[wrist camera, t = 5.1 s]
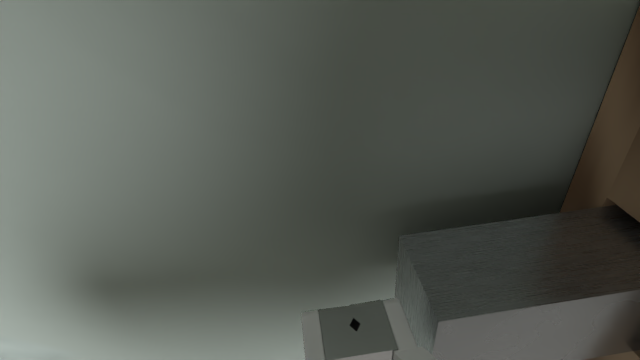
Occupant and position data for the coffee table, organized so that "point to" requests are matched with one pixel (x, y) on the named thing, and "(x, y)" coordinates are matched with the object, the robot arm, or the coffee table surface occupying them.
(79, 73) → the coffee table surface
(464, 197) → the coffee table surface
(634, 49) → the beam
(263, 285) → the coffee table surface
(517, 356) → the shaft
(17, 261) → the coffee table surface
